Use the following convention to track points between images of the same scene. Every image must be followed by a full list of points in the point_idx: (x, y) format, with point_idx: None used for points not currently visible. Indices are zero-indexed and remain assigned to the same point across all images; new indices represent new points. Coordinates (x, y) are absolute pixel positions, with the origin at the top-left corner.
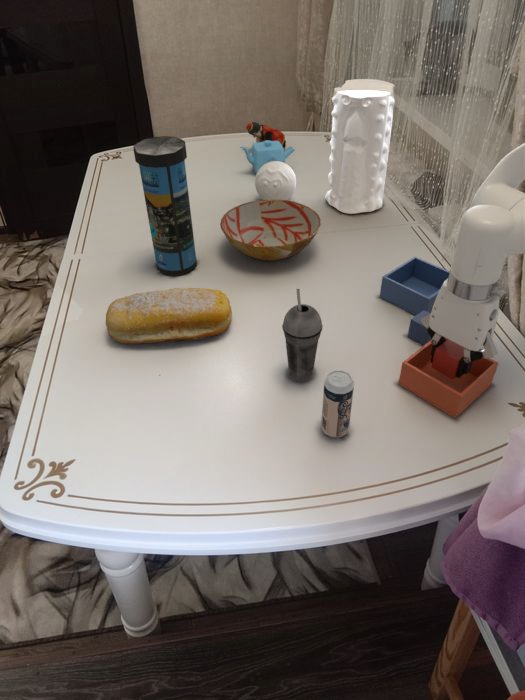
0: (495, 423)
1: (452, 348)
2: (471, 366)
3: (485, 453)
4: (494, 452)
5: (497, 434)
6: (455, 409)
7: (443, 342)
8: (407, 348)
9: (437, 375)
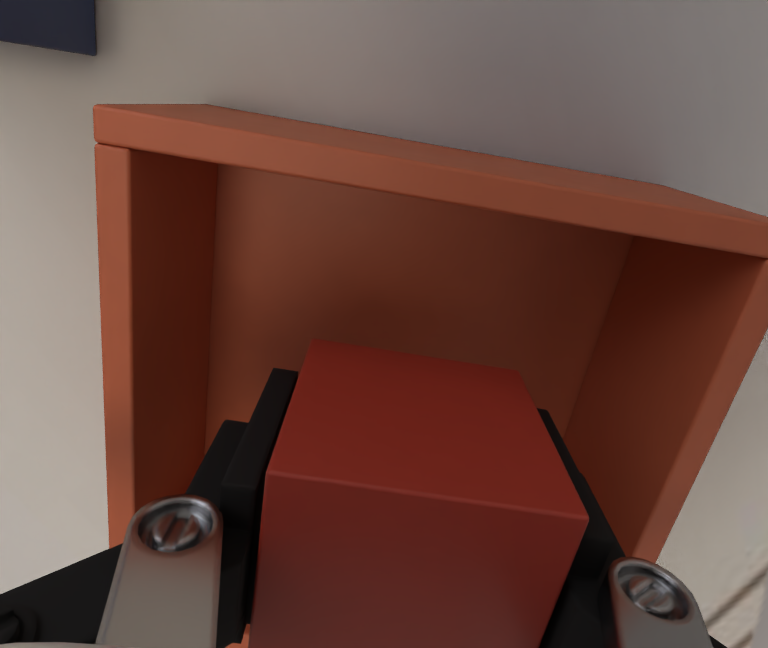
0: (733, 463)
1: (387, 616)
2: (593, 494)
3: (711, 624)
4: (748, 604)
5: (750, 517)
6: None
7: (249, 546)
8: (17, 169)
9: (331, 331)
